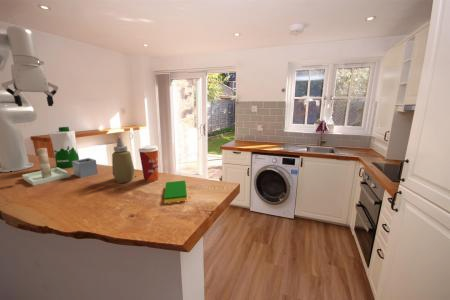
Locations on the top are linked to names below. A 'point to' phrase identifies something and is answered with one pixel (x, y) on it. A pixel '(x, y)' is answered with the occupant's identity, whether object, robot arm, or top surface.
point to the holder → (84, 167)
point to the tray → (37, 178)
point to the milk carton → (64, 147)
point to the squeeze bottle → (122, 163)
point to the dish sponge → (175, 192)
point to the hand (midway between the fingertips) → (36, 106)
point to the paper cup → (149, 162)
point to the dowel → (44, 162)
